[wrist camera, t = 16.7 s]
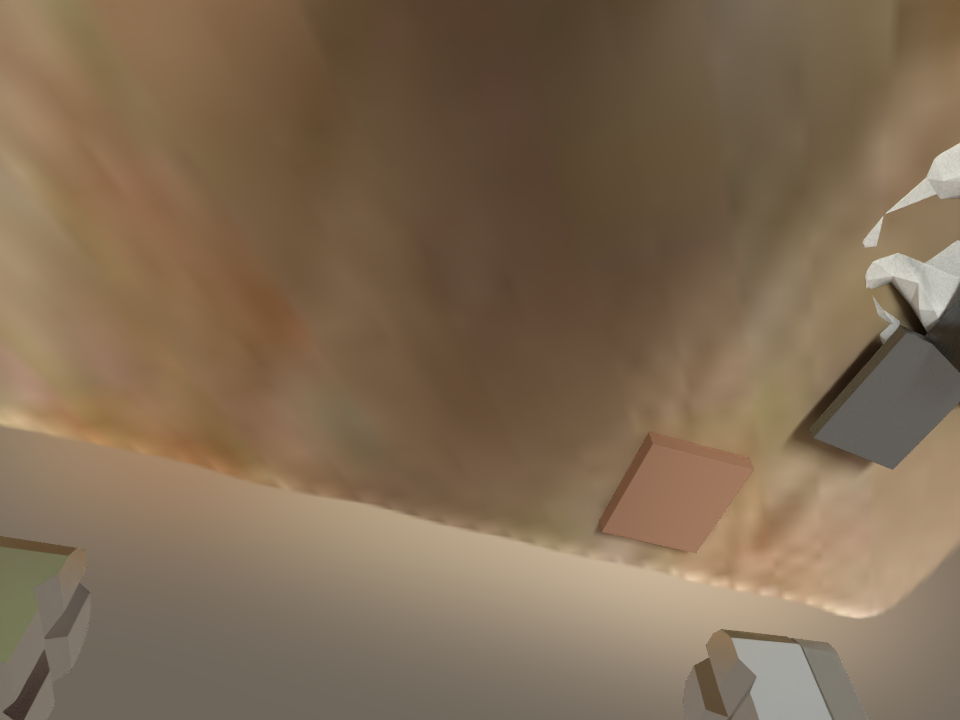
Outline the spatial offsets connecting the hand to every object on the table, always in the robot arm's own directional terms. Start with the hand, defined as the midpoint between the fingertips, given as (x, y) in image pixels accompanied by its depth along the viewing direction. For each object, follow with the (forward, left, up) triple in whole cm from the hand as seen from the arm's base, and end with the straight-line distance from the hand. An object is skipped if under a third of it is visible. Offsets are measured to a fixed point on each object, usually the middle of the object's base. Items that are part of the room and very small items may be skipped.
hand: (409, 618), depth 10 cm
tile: (+19, +20, -30) cm, 41 cm away
